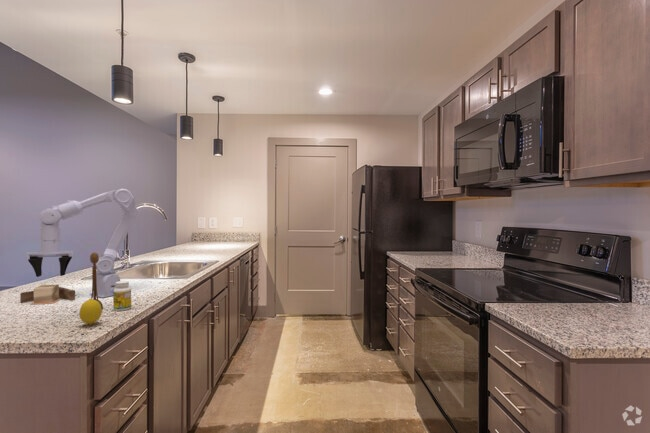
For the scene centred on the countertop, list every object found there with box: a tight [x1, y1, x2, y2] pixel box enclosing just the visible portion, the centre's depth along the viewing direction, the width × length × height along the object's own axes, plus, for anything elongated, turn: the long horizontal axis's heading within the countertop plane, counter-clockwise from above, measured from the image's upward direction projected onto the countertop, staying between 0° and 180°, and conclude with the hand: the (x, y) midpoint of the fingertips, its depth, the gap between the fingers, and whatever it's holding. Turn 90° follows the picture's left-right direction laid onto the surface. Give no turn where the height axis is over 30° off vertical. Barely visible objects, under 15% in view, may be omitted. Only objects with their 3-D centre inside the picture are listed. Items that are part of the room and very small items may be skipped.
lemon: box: [79, 298, 103, 326], centre depth 101 cm, size 6×6×8 cm
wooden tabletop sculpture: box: [89, 252, 104, 310], centre depth 117 cm, size 6×5×20 cm
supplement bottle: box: [112, 280, 132, 312], centre depth 117 cm, size 5×5×10 cm
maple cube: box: [33, 284, 60, 304], centre depth 126 cm, size 6×6×6 cm
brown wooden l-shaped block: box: [19, 286, 76, 304], centre depth 126 cm, size 13×12×4 cm
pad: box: [29, 297, 63, 306], centre depth 126 cm, size 7×7×1 cm
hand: (50, 275), depth 127 cm, fingers open, 7 cm apart
